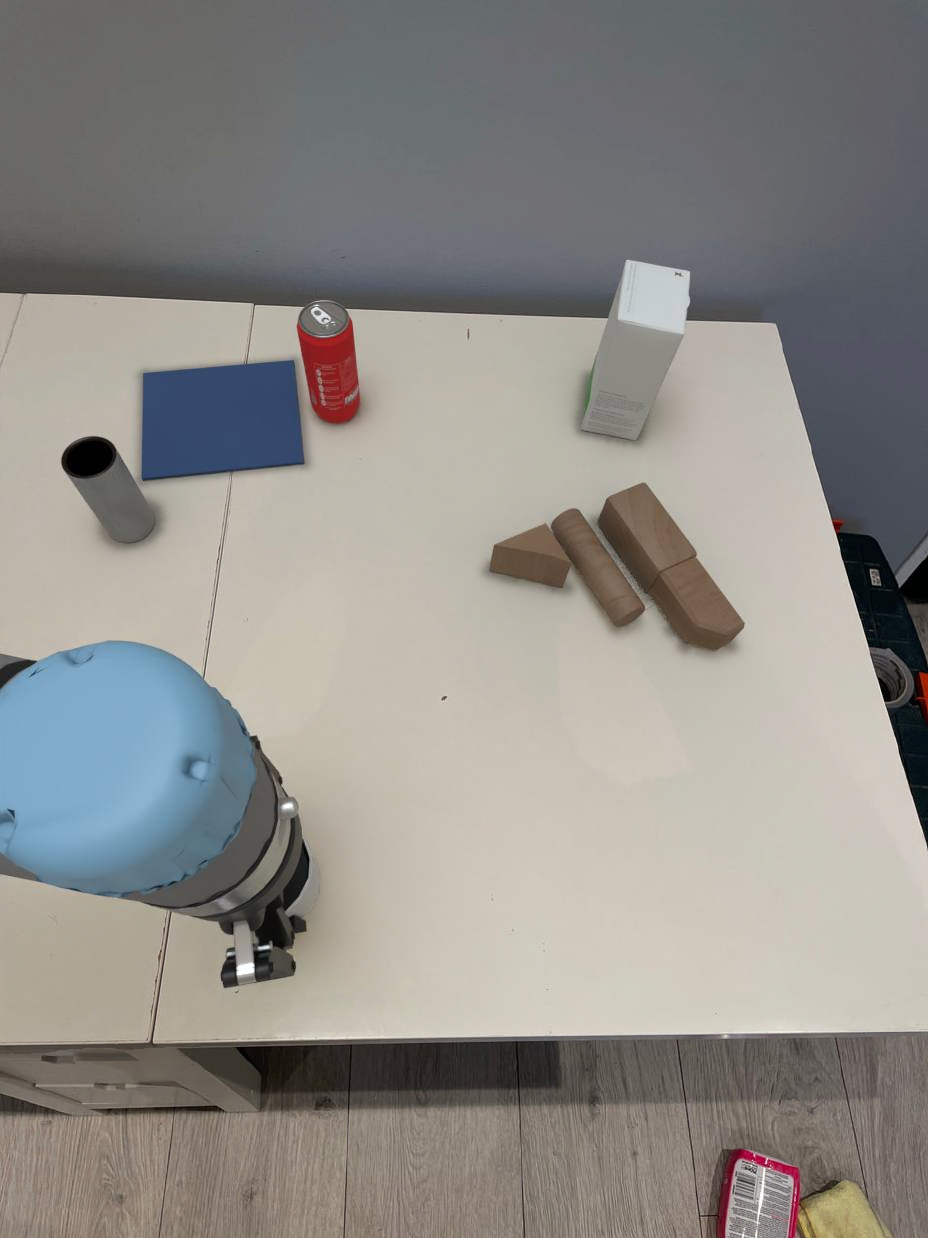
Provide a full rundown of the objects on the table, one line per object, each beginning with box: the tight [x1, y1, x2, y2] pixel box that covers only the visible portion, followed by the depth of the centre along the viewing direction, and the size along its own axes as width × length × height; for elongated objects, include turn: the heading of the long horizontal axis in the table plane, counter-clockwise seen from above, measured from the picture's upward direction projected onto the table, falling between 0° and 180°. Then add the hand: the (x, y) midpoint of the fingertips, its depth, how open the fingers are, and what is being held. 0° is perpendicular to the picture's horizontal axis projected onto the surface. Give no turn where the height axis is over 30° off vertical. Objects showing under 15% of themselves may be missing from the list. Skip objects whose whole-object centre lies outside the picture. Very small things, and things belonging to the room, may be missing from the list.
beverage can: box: [296, 299, 361, 425], centre depth 74 cm, size 5×5×12 cm
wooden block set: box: [488, 482, 746, 651], centre depth 68 cm, size 17×6×18 cm
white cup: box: [283, 834, 321, 919], centre depth 52 cm, size 7×7×10 cm
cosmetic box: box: [580, 259, 691, 441], centre depth 74 cm, size 8×7×16 cm
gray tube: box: [60, 435, 156, 544], centre depth 67 cm, size 4×4×10 cm
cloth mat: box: [141, 359, 305, 481], centre depth 77 cm, size 16×14×1 cm
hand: (285, 884), depth 56 cm, fingers closed on white cup, 6 cm apart
